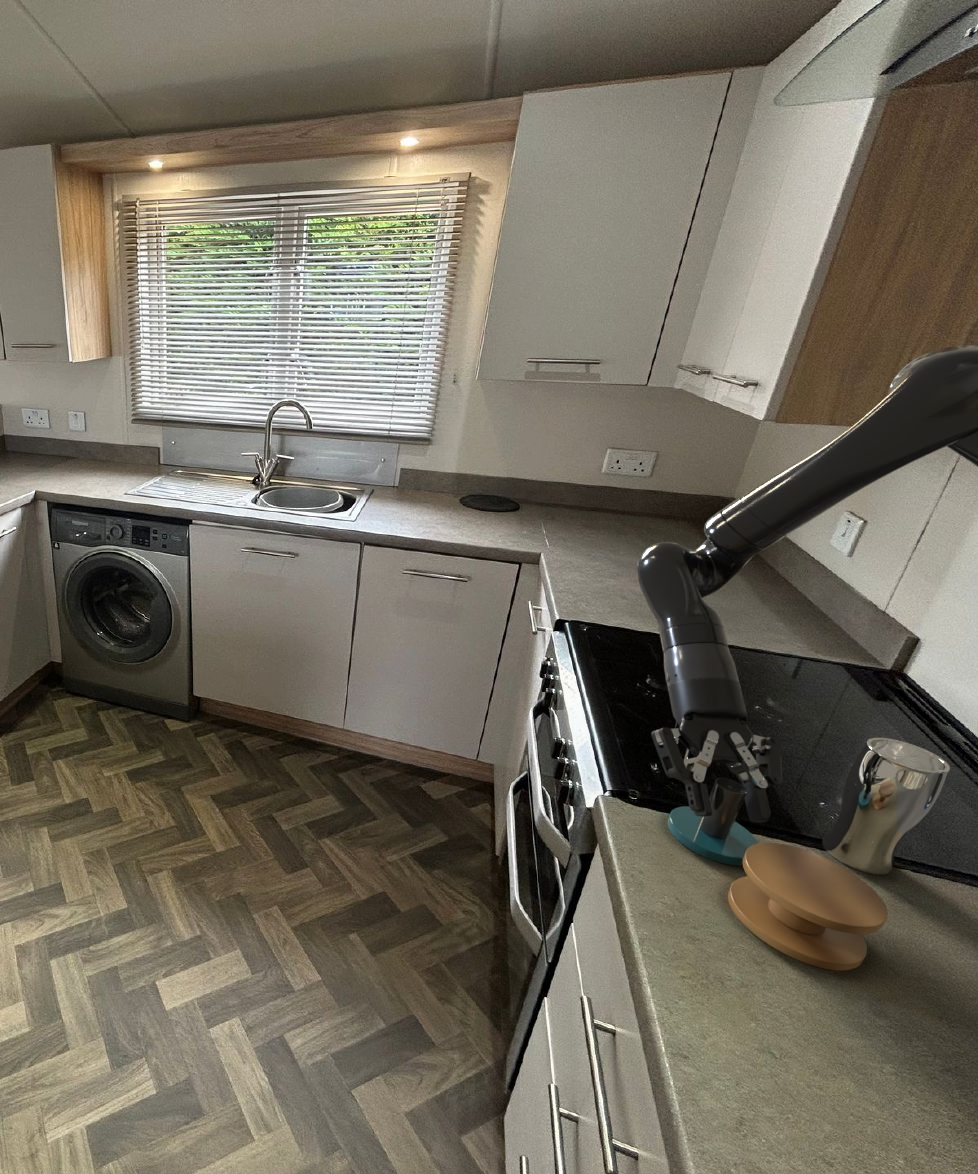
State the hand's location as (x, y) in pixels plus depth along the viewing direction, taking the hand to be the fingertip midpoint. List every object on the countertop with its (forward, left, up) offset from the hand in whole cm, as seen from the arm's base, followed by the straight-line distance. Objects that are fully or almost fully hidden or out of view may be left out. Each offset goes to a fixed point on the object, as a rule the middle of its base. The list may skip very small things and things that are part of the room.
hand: (731, 818), depth 76 cm
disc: (0, -2, -5) cm, 5 cm away
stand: (-1, +11, -5) cm, 12 cm away
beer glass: (-16, -1, -5) cm, 17 cm away
